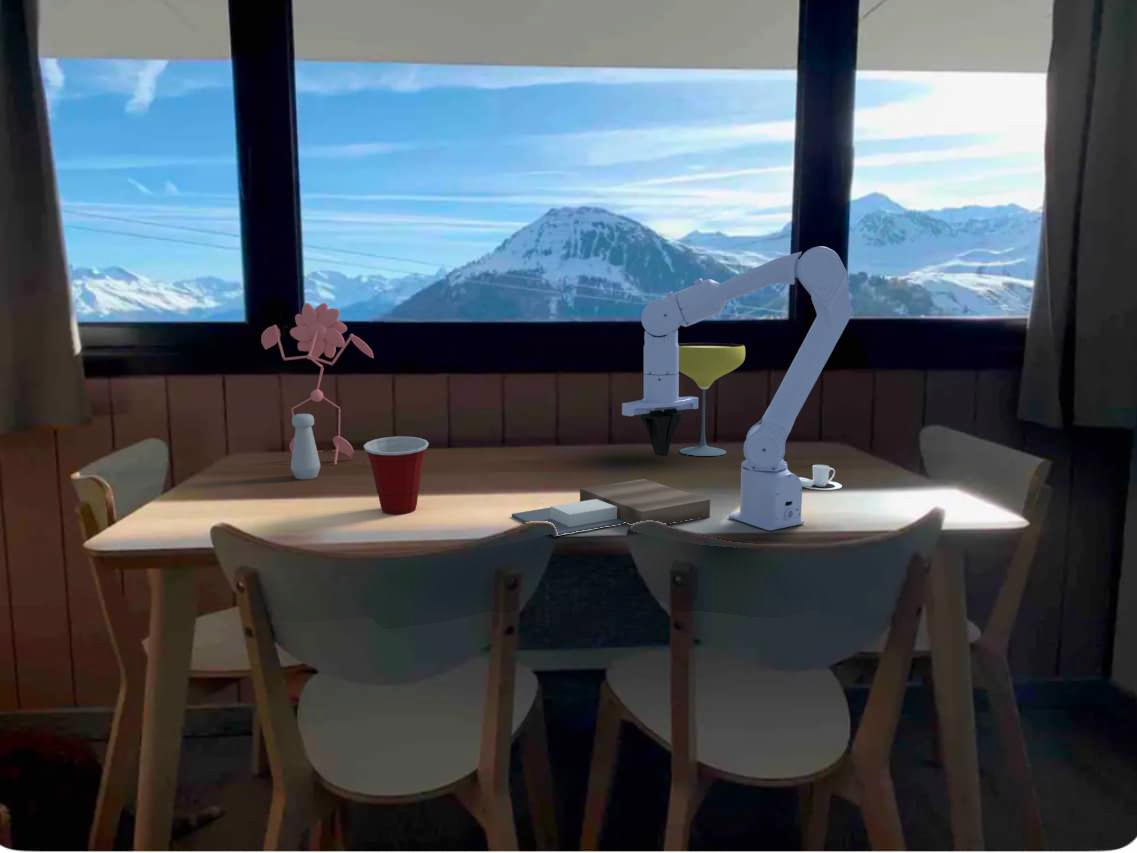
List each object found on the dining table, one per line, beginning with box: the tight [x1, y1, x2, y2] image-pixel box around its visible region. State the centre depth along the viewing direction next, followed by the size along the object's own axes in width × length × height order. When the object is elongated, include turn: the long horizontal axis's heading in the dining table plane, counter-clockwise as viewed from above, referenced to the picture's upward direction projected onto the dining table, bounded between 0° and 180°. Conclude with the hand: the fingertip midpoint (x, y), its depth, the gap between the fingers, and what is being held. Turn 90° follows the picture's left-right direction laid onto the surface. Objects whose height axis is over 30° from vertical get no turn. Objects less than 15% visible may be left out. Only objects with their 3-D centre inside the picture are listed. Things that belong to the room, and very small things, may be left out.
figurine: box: [260, 302, 375, 466], centre depth 180 cm, size 15×26×35 cm, turn 84°
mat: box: [511, 506, 625, 535], centre depth 132 cm, size 14×13×1 cm
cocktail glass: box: [678, 342, 746, 457], centre depth 186 cm, size 18×18×25 cm
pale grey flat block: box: [550, 499, 617, 527], centre depth 131 cm, size 9×6×2 cm, turn 121°
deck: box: [579, 478, 711, 524], centre depth 137 cm, size 18×14×3 cm
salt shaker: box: [290, 413, 321, 481], centre depth 163 cm, size 6×6×13 cm
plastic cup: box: [363, 436, 430, 515], centre depth 137 cm, size 11×11×12 cm
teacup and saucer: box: [798, 464, 843, 491], centre depth 155 cm, size 9×8×4 cm
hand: (660, 455), depth 134 cm, fingers closed
